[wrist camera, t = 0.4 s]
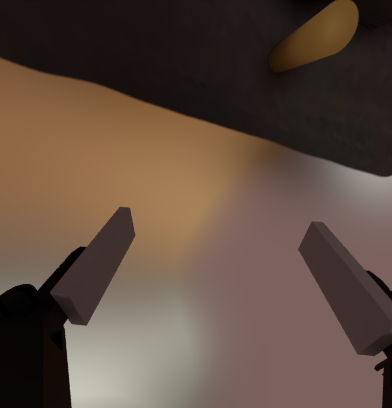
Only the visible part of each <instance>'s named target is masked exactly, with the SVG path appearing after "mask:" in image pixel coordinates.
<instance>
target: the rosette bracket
mask: <svg viewBox="0 0 392 408" xmlns="http://www.w3.org/2000/svg"><path fill="white" fill-rule="evenodd" d="M335 1H336V0H335ZM351 1H353V2H354V3H355V5H356V6H357V9H358V15H359V18H358V23H360V24H362V25H364V26H366V27H369V28H371V29H376V28H378V27H381V26H383V25H385V24H388V23H390V22H392V0H351Z"/></svg>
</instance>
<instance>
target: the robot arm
mask: <svg viewBox="0 0 392 408" xmlns="http://www.w3.org/2000/svg"><path fill="white" fill-rule="evenodd" d="M134 237H135V232H134V227H133V222H132V216H131V211H130V208H127V207H119V209H118V210H117V211H116V212H115V213H114V215H113V216H112V217H111V218H110V219H109V221H108V222H107V223H106V224H105V226H104V227H103V228H102V229H101V231H100V232H99V233H98V234H97V235H96V237H95V238H94V239H93V240H92V242H91V243H90V244H89V245H88V246H87V247H79V248H77V249H76V250H75V251H73V252H72V253H71V254H70V255H69V256H68V257H67V258H66V259H65V261H64V262H63V263H62V264H61V265H60V266H59V268H57V269H56V271H55V272H54V273H53V274H52V275H51V276H50V277H49V278H48V279H47V281H46V282H45V283H44V284H43V285H42V286H41V287H40V288H39V290H38V291H37V290H36V288H35V287H34V286H33V285H31V284H22V285H18V286H15V287H13V288H11V289H9V290H7V291H6V292H5V293H3V294H2V295H0V408H72V407H71V395H70V384H69V373H68V362H67V350H66V339H65V329H64V326H63V325H64V323H65V322H66V320H67V319H69V321H70V322H71V324H76V325H87V324H88V322H89V320H90V318H91V316H92V315H93V313H94V311H95V309H96V307H97V305H98V304H99V302H100V300H101V298H102V296H103V294H104V293H105V291H106V289H107V287H108V285H109V283H110V281H111V280H112V278H113V276H114V274H115V272H116V270H117V268H118V267H119V265H120V263H121V261H122V259H123V257H124V255H125V254H126V252H127V250H128V248H129V246H130V245H131V243H132V241H133V239H134ZM298 250H299V251H300V253H301V255H302V256H303V258H304V260H305V262H306V264H307V266H308V267H309V269H310V271H311V273H312V274H313V276H314V278H315V280H316V282H317V283H318V285H319V287H320V289H321V290H322V292H323V294H324V295H325V297H326V299H327V301H328V303H329V305H330V306H331V308H332V310H333V312H334V313H335V315H336V317H337V319H338V321H339V322H340V324H341V326H342V328H343V329H344V331H345V333H346V335H347V336H348V338H349V340H350V342H351V344H352V345H353V347H354V349H355V351H356V352H357V354H360V355H369V356H375V355H377V354H378V353H380V352H381V351H383V352H384V353H385V355H386V356H387V359H385V360H384V361H382V362H380V363H379V364H377V365H376V366H375V368H374V369H375V370H376V371H379V370H380V369H382V368H384V373H383V374H382V375H383V402H382V408H392V291H390V290H389V288H388V287H387V286H386V285H385V283H384V282H383V281H382V280H381V279H380V278H378V277H377V276H376V275H374V274H373V273H372V272H370V271H366V270H364V269H363V267H362V266H361V265H360V264H359V263H358V262H357V261H356V259H355V258H354V257H353V256H352V255H351V254H350V253H349V251H348V250H347V249H346V248H345V247H344V246H343V245H342V243H341V242H340V241H339V240H338V239H337V238H336V237H335V235H334V234H333V233H332V232H331V231H330V230H329V229H328V228H327V226H326V225H325V224H324V223H323V222H311V224H310V226H309V228H308V230H307V232H306V234H305V236H304V239H303V240H302V243H301V245H300V247H299V249H298Z"/></svg>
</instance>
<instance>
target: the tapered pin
mask: <svg viewBox="0 0 392 408" xmlns="http://www.w3.org/2000/svg"><path fill="white" fill-rule="evenodd" d="M358 18H359V15H358V9H357V6H356V5H355V3H354V2H353V1H351V0H336V1H334V2H333V3H331V4H330V5H328V6H327V7H326V8H324V9H323V10H322V11H321V12H319V13H318V14H317V15H315V16H314V17H313V18H312V19H310V20H309V21H308V22H306V23H305V24H304V25H303V26H301V27H300V28H299V29H297V30H296V31H295V32H294V33H292V34H291V35H290V36H288V37H287V38H286V39H284V40H283V41H282V42H281V43H279V44H278V45H277V46H276V47H275V48H274V49H273V50H272V52H271V54H270V56H269V66H270V68H271V70H272V71H274V72H276V73H280V72H283V71H286V70H289V69H292V68H295V67H298V66H301V65H303V64H306V63H309V62H312V61H315V60H318V59H321V58H324V57H327V56H330V55H333V54H335V53H337V52H339V51H340V50H342V49H343V48H344V47H345V46H346V45H347V44H348V43H349V41H350V40H351V38H352V37H353V35H354V33H355V31H356V28H357V25H358Z"/></svg>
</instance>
